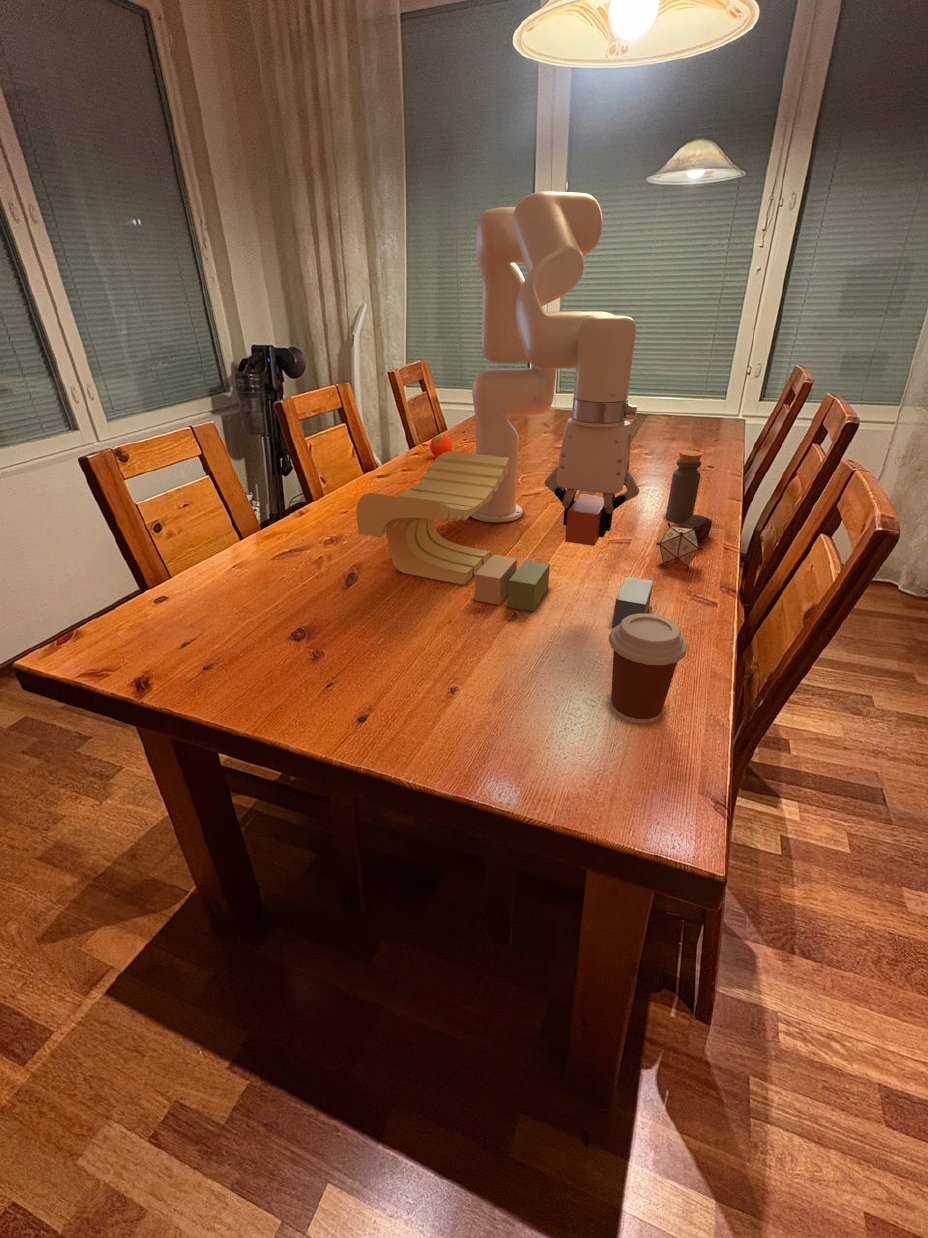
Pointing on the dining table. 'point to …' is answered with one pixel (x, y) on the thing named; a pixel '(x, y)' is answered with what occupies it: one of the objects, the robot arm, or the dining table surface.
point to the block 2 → (528, 585)
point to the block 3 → (632, 598)
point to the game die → (679, 546)
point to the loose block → (584, 520)
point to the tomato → (440, 445)
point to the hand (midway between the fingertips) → (586, 531)
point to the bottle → (684, 487)
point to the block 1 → (494, 579)
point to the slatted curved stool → (434, 516)
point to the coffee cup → (644, 665)
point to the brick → (698, 526)
